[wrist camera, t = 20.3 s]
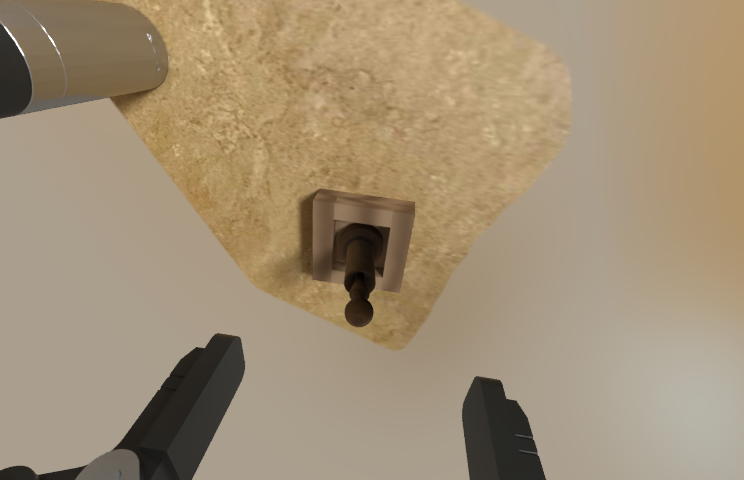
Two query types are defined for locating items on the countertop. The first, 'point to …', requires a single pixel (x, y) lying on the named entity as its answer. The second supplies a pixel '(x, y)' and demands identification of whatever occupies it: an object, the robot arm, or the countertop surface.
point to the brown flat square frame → (349, 208)
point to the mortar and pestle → (360, 269)
